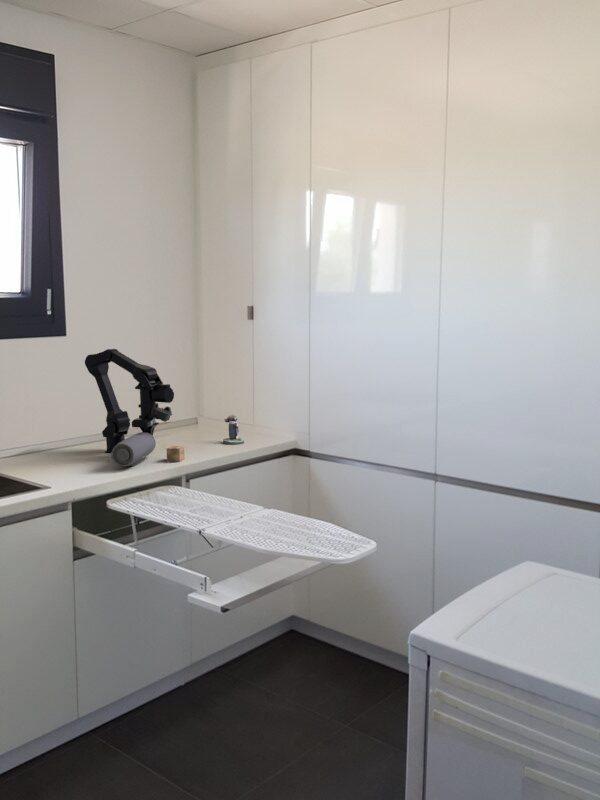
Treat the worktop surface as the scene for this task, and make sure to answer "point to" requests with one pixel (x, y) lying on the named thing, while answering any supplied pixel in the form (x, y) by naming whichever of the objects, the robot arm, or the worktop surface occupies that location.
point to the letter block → (175, 454)
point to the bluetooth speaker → (133, 449)
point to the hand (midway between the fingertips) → (149, 442)
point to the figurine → (233, 432)
